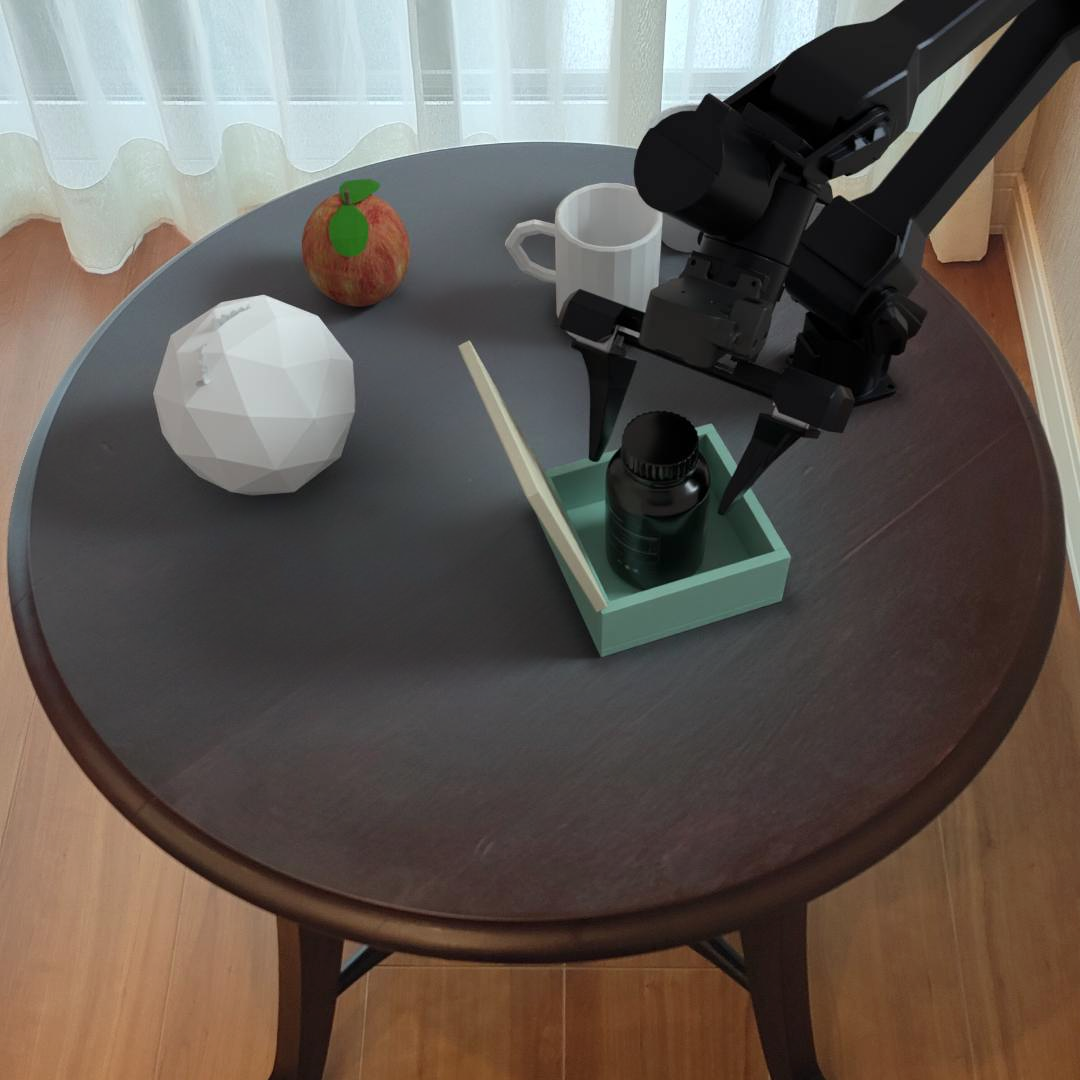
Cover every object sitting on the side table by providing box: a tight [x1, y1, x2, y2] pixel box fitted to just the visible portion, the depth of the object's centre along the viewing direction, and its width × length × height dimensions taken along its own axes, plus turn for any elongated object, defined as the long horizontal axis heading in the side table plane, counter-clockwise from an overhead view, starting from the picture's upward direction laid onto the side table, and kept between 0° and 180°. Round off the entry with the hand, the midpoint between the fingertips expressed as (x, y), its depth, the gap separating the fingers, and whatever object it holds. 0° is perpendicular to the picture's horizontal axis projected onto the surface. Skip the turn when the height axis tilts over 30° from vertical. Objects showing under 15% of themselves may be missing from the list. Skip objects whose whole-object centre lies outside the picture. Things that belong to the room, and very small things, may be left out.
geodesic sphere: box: [152, 294, 356, 496], centre depth 92 cm, size 15×14×14 cm
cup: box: [645, 103, 705, 254], centre depth 109 cm, size 8×8×10 cm
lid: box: [458, 340, 607, 612], centre depth 80 cm, size 14×13×1 cm
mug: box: [504, 182, 663, 340], centre depth 103 cm, size 8×12×10 cm, turn 86°
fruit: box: [301, 178, 411, 307], centre depth 105 cm, size 9×10×10 cm
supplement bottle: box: [605, 409, 711, 590], centre depth 86 cm, size 7×7×12 cm
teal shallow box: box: [537, 423, 792, 658], centre depth 89 cm, size 13×13×5 cm
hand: (656, 487), depth 84 cm, fingers open, 9 cm apart
